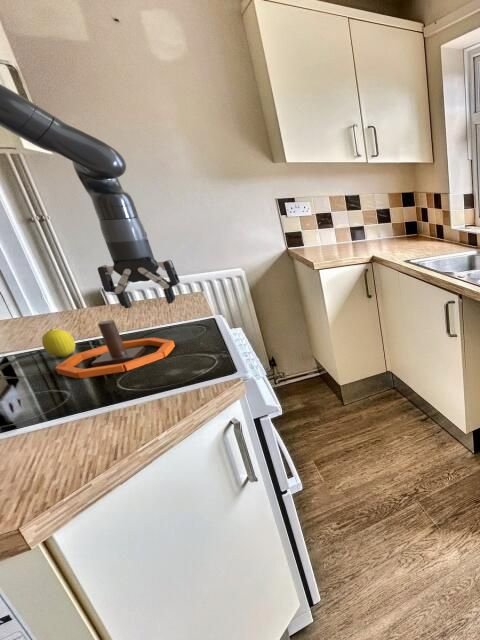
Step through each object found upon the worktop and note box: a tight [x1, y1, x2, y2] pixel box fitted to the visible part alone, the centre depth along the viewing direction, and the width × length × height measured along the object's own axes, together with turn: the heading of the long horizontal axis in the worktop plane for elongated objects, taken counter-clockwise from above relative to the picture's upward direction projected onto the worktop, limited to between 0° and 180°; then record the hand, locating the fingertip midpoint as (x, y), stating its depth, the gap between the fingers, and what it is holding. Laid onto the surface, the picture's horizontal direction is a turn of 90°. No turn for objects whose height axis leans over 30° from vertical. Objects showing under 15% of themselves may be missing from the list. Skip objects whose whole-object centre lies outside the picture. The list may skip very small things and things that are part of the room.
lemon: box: [41, 328, 76, 359], centre depth 106 cm, size 6×6×8 cm
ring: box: [54, 337, 176, 379], centre depth 105 cm, size 21×21×2 cm
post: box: [90, 319, 146, 368], centre depth 104 cm, size 8×8×10 cm
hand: (150, 305), depth 104 cm, fingers open, 8 cm apart
